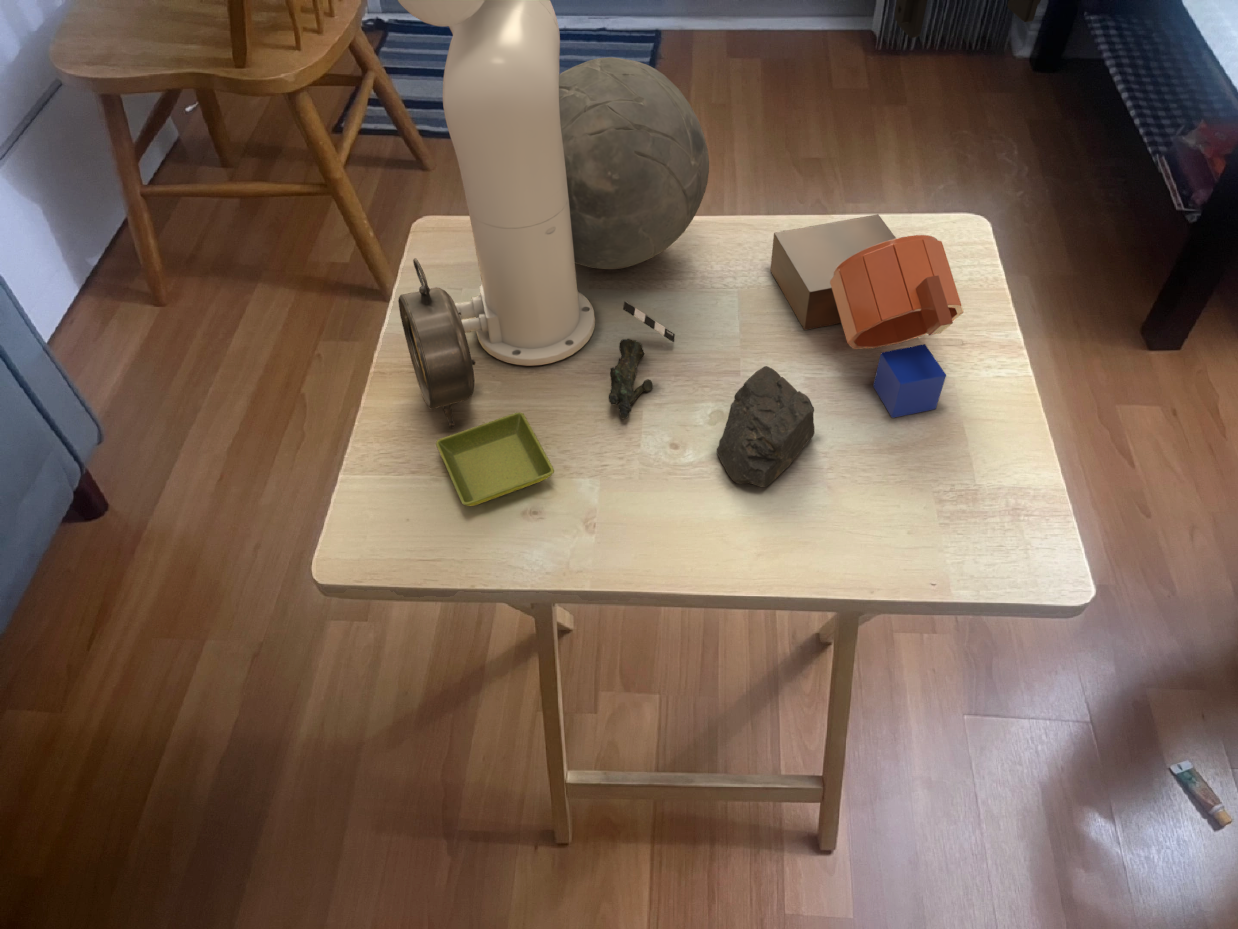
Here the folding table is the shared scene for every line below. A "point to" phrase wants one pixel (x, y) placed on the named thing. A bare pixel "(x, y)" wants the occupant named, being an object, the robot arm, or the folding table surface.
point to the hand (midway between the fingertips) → (963, 22)
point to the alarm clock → (437, 346)
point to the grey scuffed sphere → (628, 161)
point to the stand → (820, 263)
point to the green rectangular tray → (494, 459)
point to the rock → (765, 428)
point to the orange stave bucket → (895, 292)
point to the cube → (909, 380)
